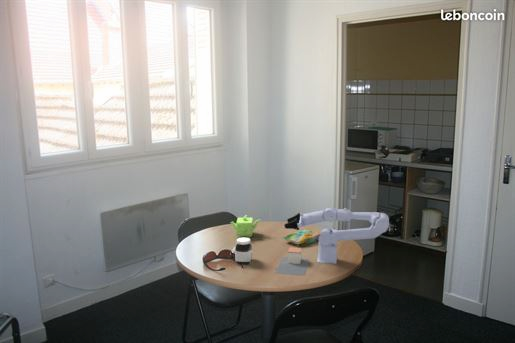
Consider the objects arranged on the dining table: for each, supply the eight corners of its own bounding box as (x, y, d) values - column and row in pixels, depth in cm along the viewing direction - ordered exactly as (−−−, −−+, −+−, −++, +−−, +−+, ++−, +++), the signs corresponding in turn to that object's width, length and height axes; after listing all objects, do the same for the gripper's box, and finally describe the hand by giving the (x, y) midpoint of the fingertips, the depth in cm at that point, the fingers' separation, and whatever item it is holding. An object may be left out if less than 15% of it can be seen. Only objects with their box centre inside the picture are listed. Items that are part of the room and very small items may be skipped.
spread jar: (248, 266, 217) (247, 243, 215) (226, 264, 220) (226, 241, 218) (255, 257, 229) (254, 235, 226) (234, 255, 232) (233, 234, 229)
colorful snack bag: (321, 232, 252) (297, 240, 239) (321, 240, 253) (297, 248, 240) (306, 227, 261) (282, 235, 248) (306, 235, 262) (282, 243, 249)
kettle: (246, 230, 272) (245, 212, 270) (262, 235, 262) (262, 217, 260) (227, 235, 262) (227, 217, 260) (244, 241, 252) (243, 222, 250)
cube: (301, 259, 223) (301, 248, 222) (299, 264, 218) (299, 252, 217) (289, 258, 225) (289, 247, 224) (287, 263, 219) (287, 251, 218)
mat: (309, 260, 224) (309, 259, 224) (304, 276, 204) (304, 275, 204) (282, 258, 227) (282, 257, 227) (275, 274, 208) (275, 273, 207)
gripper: (311, 206, 227) (286, 212, 231) (307, 215, 213) (281, 221, 217) (315, 219, 228) (290, 224, 232) (311, 229, 214) (285, 234, 218)
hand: (286, 223), depth 225 cm, fingers open, 7 cm apart
